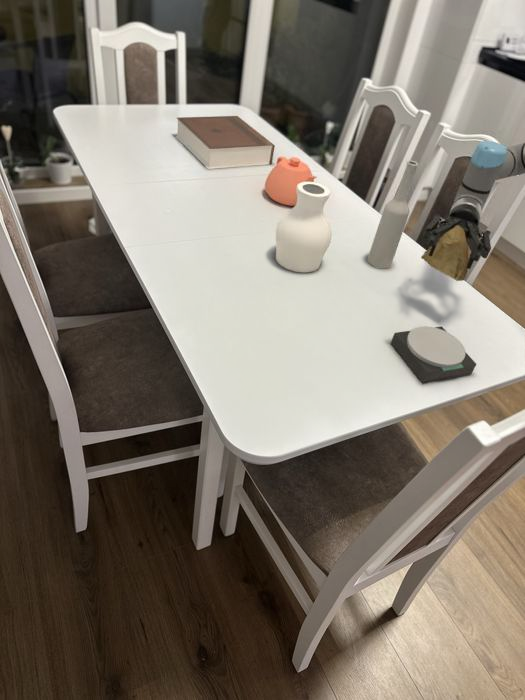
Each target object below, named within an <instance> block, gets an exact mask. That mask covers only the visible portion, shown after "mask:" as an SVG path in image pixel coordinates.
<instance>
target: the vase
mask: <svg viewBox="0 0 525 700" xmlns="http://www.w3.org/2000/svg"><path fill="white" fill-rule="evenodd" d="M296 192H297V203H296V205H295V206H293V207H292V208H291V209H290V210H288V211H287V212H285V213H284V214H283V215H282V216H281V218H280V219H279V221H278V222H277V223H276V224H277V225H276V227H275V245H276V246H275V247H276V250H275V260H276V262H277V263H278V265H280V266H282V267H283V268H285V269H287V270H289V271H292V272H296V273H302V274H303V273H311V272H314V271H317V270H318V269H319V268H320V266H321V263H322V260H323V258H324V256H325V254H326V253H327V250H328V248H329V247H330V244H331V242H332V236H333V233H332V229H331V225H330V222H329V220H328V218H327V217H326V215H325V213H324V206H325V204H326V203H327V201H328V199H329V198H330V195H331V191H330V189H329V188H328V187H327V186H325V185H323V184H321V183H319V182H315V181H314V182H302V183H299V184H298V185H297V188H296Z"/></svg>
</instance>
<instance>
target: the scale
mask: <svg viewBox="0 0 525 700" xmlns="http://www.w3.org/2000/svg"><path fill="white" fill-rule="evenodd" d="M391 338H392V339H391V341H390V344H391V345H392V347H393V348H394V349H395V351H396V352H397V353H398V354H399V356H400V357H401V358H402V359H403V361H404V362H405V363H406V364H407V366H408V367H409V368H410V369H411V371H412V372H413V373H414V375H415V376H416V377H417V379H418V380H419V381H420V382H421V383H422V384H425V383H431V382H435V381H440V380H445V379H447V380H448V379H453V378H458V377H463V376H467V375H468V376H469V375H472V373H473V372H474V370H475V368H476V366H477V365H478V364H477V363H476V361H475V360H474V359H472V358H471V356H470V355H469V354H468V352H466V349H465V346H464V345H463V343H462V342H461V341H460V340H459V339H458V338H457V337H456V336H454V335H453V334H451V333H450V332H448V331H447V329H445V328H444V327H443V326H434V327H433V326H428V325H427V326H417V327H415V328H412V329H411V330H406V331H398V332H394V333H393V336H392V337H391Z"/></svg>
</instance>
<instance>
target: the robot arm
mask: <svg viewBox="0 0 525 700" xmlns="http://www.w3.org/2000/svg"><path fill="white" fill-rule="evenodd" d="M523 174H525V142H521V143H518V144H515V145H511V146H507V147H506V146H505V145H504V144H502V143H499V142H496V141H493V140H490V141H489V140H483V141H480V142H479V143H478V144H477V145H476V147H475V150H474V152H473V153H472V155H471V157H470V161H469V164H468V166H467V168H466V171H465V174H464V177H463V178H462V180H461V183H460V186H459V188H458V191H457V192H456V195H455V196H454V198H453V203H452V206H451V208H450V211H449V214H448V216H447V217H446V218H442V216H441V215H440V214H439V213H435V215H434V217H433V219H432V221H430V222H429V223H428V224H427V225H426V226H425V227H424V231H423V233H422V237H421V238H422V239H428V242H427V246H429V247H430V246H432V248H431V251H430V253H429V256H432V255H433V252H434V250H435V248H436V245H437V243H438V240H439V239H440V238H441V237H442V236H443V235H444V234H445V233H447V232H448V231H449V230H451V229H453V228H454V227H455V226H457V225H459V226H460V227H461V228H462V229H463V230H464V232H465V236H466V242H467V245H468V249H470V251H471V252H470V254H469V256H468V258H469V261H468V264H467V270H471V268H472V266H473V263H474V262H478V261H479V260H480V258H483V259H487V258H488V257H489V254H490V252H491V251H492V245H491V239H490V235H491V233H492V232H491V231H490V230H489V229H488V230H485V231H484V230H480V227H479V225H480V221H481V217H482V213H483V210H484V207H485V205H486V202H487V200H488V198H489V195H490V193H491V191H492V189H493V187H494V185H495V182H496V181H498V180H503V179H506V178H511V177H516V176H521V175H523Z"/></svg>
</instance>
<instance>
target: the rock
mask: <svg viewBox="0 0 525 700" xmlns="http://www.w3.org/2000/svg"><path fill="white" fill-rule="evenodd" d="M431 248H432V246H429V247H428V249H426V250H425V251H424V253H423V254H422V256H421V257H420V259H422V260H424V262H426V264H428V265H429V267H432V268H433V269H435V270H436V271H438V272H440V273H443V275H445V276H449V277H450V278H451V279H453V280H454V281H457V282H462V281H464V280H465V279H466V276H467V274H468V268H467V264H468V261H469V246H468V244H467V242H466V236H465V232H464V230H463V229H462V228H461V227H460V226H459V225H457V226H455V227H454V228H453V229H451V230H449V231H448V232H447V233H445V234H444V235H443V236H442V237H441V238H440V239H439V240H438V243H437V245H436V248H435V250H434V252H433V255H432V256H429V253H430V251H431Z"/></svg>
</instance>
